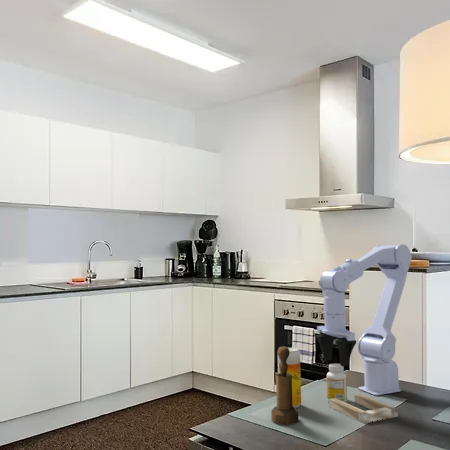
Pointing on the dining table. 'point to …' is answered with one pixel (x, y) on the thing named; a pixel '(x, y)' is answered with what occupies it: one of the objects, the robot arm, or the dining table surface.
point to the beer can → (294, 374)
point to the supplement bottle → (336, 383)
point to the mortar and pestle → (284, 393)
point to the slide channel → (375, 414)
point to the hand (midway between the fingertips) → (336, 362)
